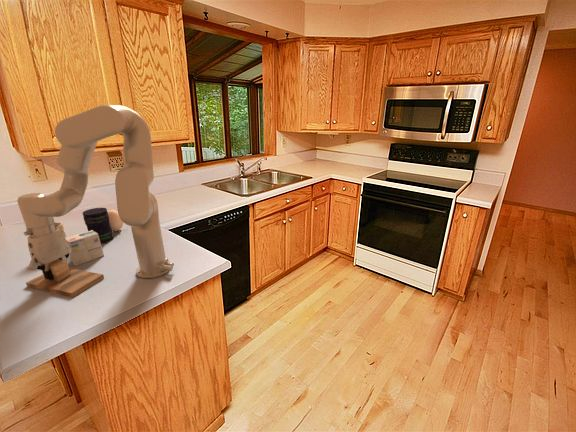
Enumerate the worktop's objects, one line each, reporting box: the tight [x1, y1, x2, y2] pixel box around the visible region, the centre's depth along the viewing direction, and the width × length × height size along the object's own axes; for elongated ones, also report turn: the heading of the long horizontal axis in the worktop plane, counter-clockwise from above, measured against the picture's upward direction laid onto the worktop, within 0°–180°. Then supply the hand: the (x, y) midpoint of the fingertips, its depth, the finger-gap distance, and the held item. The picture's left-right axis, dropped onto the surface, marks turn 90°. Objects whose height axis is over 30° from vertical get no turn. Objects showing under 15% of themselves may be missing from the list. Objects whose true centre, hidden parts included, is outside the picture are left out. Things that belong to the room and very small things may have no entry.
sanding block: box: [41, 259, 71, 282], centre depth 104 cm, size 7×4×6 cm, turn 73°
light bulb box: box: [65, 230, 105, 266], centre depth 120 cm, size 11×7×11 cm, turn 141°
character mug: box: [54, 221, 67, 238], centre depth 125 cm, size 11×7×13 cm, turn 10°
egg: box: [107, 209, 124, 232], centre depth 147 cm, size 8×8×11 cm
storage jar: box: [82, 207, 115, 245], centre depth 136 cm, size 10×10×15 cm
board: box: [25, 267, 105, 298], centre depth 104 cm, size 22×12×2 cm, turn 73°
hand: (57, 275), depth 105 cm, fingers closed on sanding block, 4 cm apart
